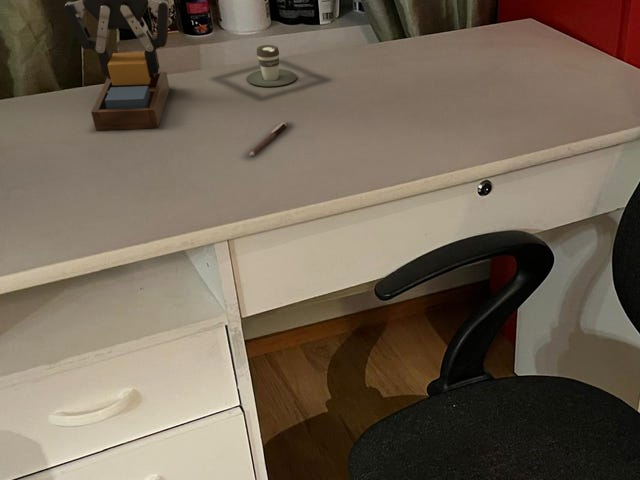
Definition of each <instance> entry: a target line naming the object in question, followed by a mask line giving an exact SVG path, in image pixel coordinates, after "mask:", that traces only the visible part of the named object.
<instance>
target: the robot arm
mask: <svg viewBox="0 0 640 480" xmlns="http://www.w3.org/2000/svg"><path fill="white" fill-rule="evenodd" d="M147 8H150V9H151V12H152V15H153V16H154V17H156V18H157V27H156V30H157V31H156V35H155V36H153V35H152V34H151V32H150V30H149V26H148V25H147V23H146V21H145V20H144V18H143V16H144V14H145V12H146V11H147ZM85 9H86V10H87V11H88V13H90V14H91V16H92V17H94V18H95V19H96V20H97V21H98V23H97V32H96V38H95V37H93V36H92V34H91V33H90V30H89V28H88V26H87V23H86V22H85V20H84V16H85ZM63 12H64V14H65V17H66V18H67V21H68V22H69V24H70V26H71V28H72V30H73V32H74V34H75V37H76V38H77V41H78V43H79V45H80V47H81V48H82V49H83V50H92V51H94V52H96V54H97V56H98V60H99V64H100V69H101V72H102V74H103V75H104V76H107V77H108V79H111V77H110V73H109V69H108V63H109V61H110V59H111V57H112V55H113V54H112V50H111V48H109V46H108V44H109V38H110V32H111V30H112V31H113V30H118V29H123V30H131V31H132V32H133V33H134V36H135V37H136V38H137V39H138V40H139V42H140V43H141V45H142V47H143V49H144V51H143V52H144V54H145V59H146V62H147V67H148V72H149V76H150V78H155V76H156V73H158V72H160V71H159V70H160V62H159V58H158V57H159V56H158V52H157V49H159V48H163V47H166V44H167V41H168V36H169V21H170V1H169V0H76V1H73V0H68V1H67V2H66V3H65V5H64V6H63Z"/></svg>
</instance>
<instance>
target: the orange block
mask: <svg viewBox="0 0 640 480" xmlns="http://www.w3.org/2000/svg"><path fill="white" fill-rule="evenodd" d="M144 52H145V51H143V52H116V53H115V52H113V53H112V54H111V55H112V57H111V59H110V61H109V63H108V69H109V73H110V77H111V82H112V85H113V86H118V85H145V84H149V83H150V80H151V78H150V76H149V72H148V67H147V62H146V59H145V54H144Z"/></svg>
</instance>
